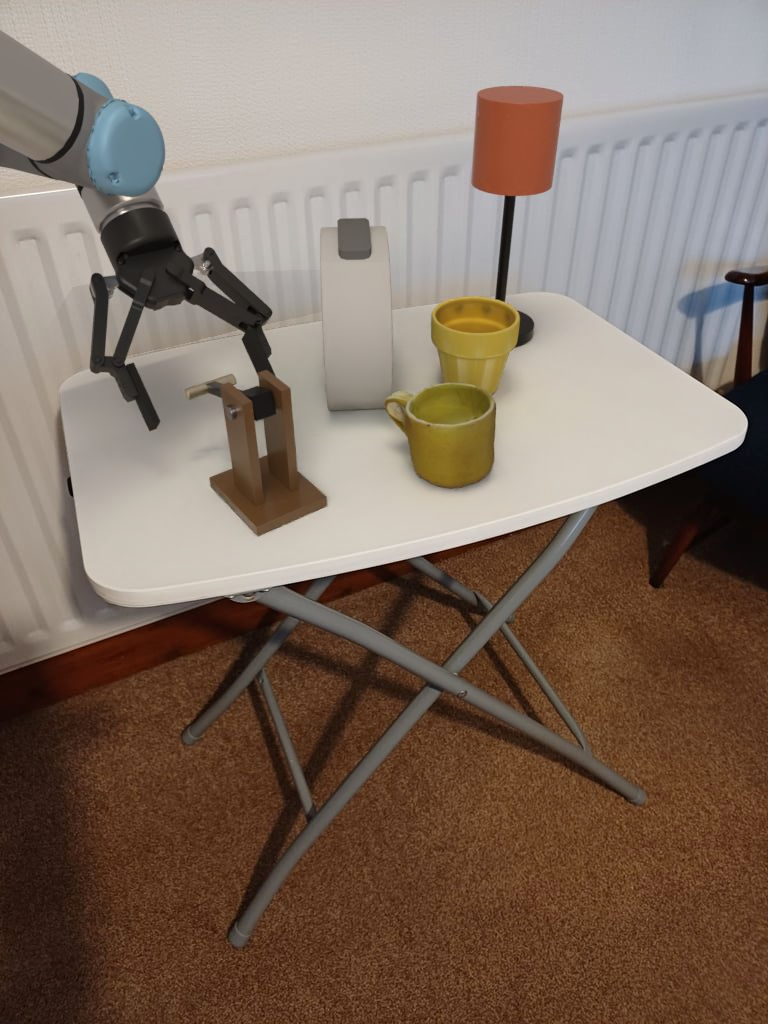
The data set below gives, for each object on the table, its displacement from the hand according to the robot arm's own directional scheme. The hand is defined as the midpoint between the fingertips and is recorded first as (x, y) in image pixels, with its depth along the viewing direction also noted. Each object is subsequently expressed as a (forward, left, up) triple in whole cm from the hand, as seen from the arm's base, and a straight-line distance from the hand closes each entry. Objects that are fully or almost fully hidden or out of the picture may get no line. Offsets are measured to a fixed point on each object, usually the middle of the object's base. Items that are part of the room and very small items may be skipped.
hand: (215, 406), depth 83 cm
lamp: (+35, +28, -6) cm, 46 cm away
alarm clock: (+15, +15, -6) cm, 22 cm away
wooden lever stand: (+5, -8, -6) cm, 11 cm away
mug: (+23, -3, -6) cm, 24 cm away
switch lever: (+3, -4, +2) cm, 6 cm away
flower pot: (+29, +13, -6) cm, 33 cm away
